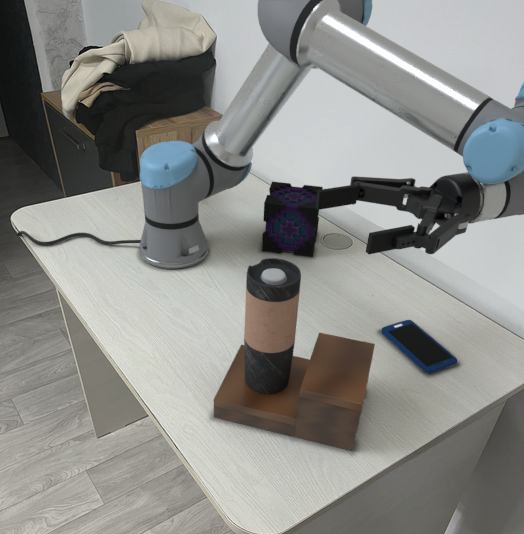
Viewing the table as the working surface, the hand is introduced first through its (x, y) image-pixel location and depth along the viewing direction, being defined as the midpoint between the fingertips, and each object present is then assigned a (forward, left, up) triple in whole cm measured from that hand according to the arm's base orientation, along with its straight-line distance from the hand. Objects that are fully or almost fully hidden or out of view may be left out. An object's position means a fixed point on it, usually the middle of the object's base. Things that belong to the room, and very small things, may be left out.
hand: (341, 220), depth 73 cm
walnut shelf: (-3, -6, -30) cm, 31 cm away
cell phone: (+16, +15, -30) cm, 37 cm away
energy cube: (-16, +46, -30) cm, 58 cm away
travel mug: (-7, -6, -26) cm, 28 cm away
